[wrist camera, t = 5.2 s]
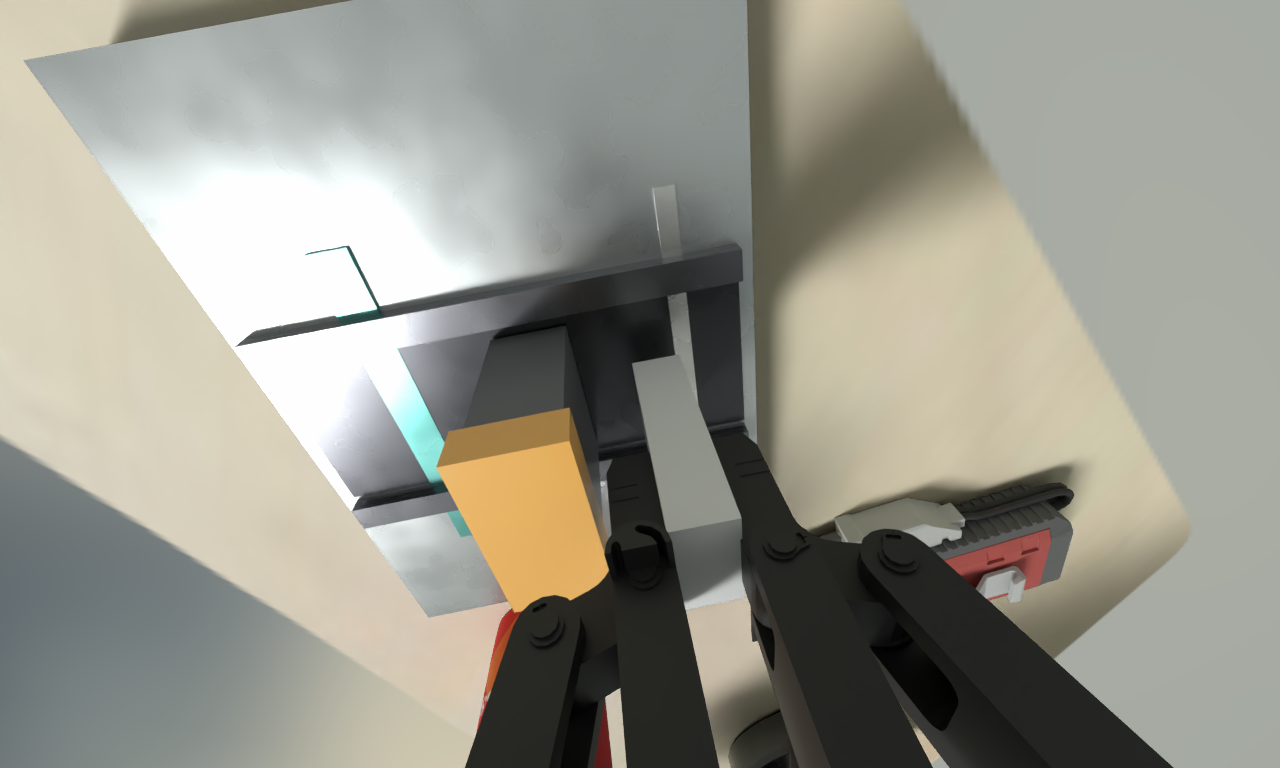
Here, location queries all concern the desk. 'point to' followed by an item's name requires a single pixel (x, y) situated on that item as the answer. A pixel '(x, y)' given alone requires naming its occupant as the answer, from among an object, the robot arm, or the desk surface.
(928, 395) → the desk surface
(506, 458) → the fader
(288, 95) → the console board
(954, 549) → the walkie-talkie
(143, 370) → the desk surface
